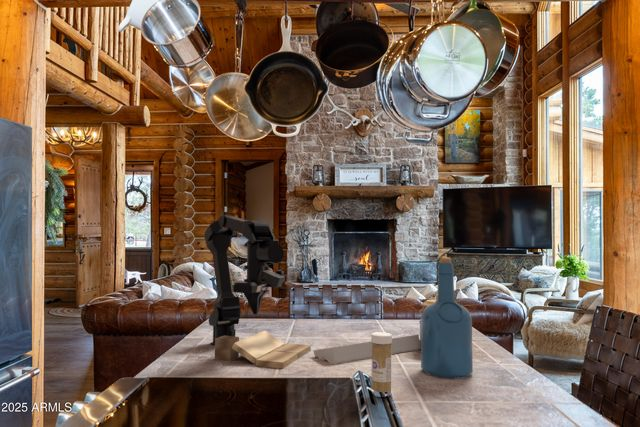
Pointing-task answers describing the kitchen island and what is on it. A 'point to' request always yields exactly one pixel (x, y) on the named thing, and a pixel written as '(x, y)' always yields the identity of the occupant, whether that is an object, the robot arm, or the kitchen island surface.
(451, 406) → the kitchen island surface
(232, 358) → the block
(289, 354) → the laid row
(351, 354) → the decorative molding
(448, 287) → the wine bottle
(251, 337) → the plank
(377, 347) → the sprinkles bottle
